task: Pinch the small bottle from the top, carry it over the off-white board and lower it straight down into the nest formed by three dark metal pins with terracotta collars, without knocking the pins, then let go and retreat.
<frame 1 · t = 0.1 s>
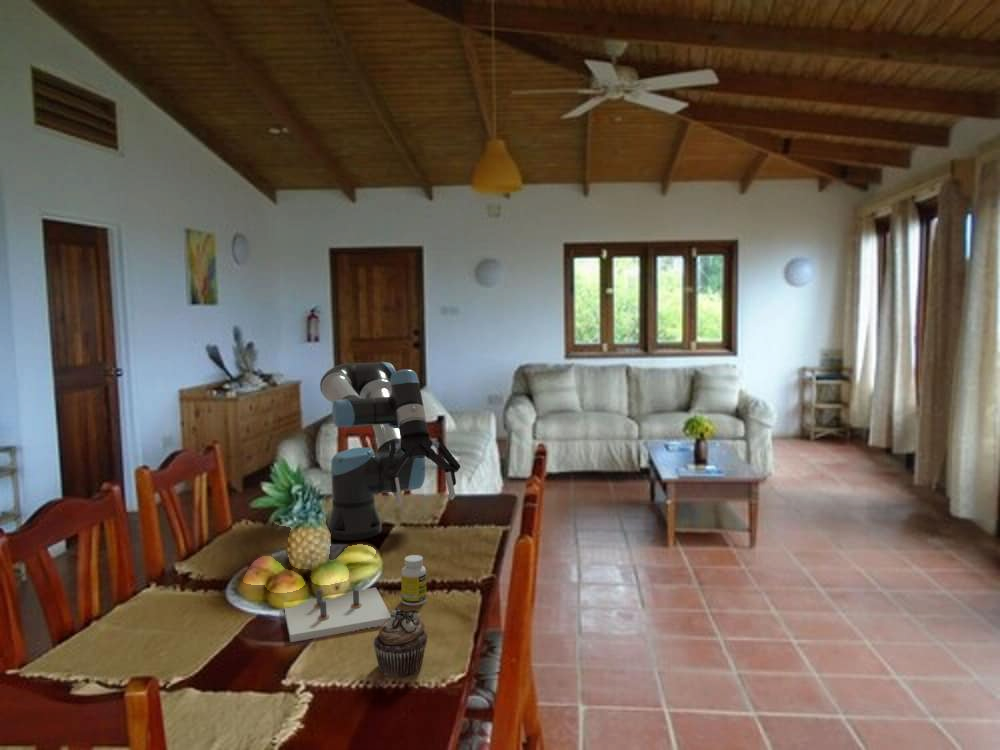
hand: (426, 501, 179), 15 cm above the table, tool tilted 35°, fingers open, 13 cm apart
cupcake: (400, 667, 130), on the table
pin nest: (336, 616, 150), on the table
supplement bottle: (414, 602, 157), on the table
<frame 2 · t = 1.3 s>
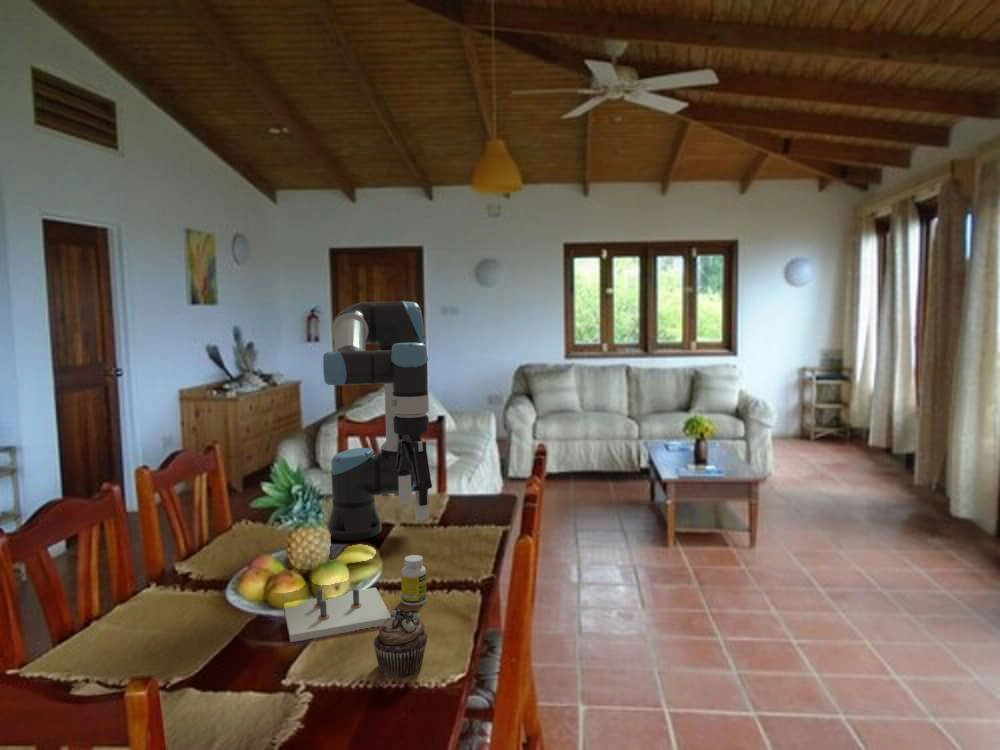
hand: (413, 511, 156), 20 cm above the table, tool pointing down, fingers open, 13 cm apart
nothing on the table moved.
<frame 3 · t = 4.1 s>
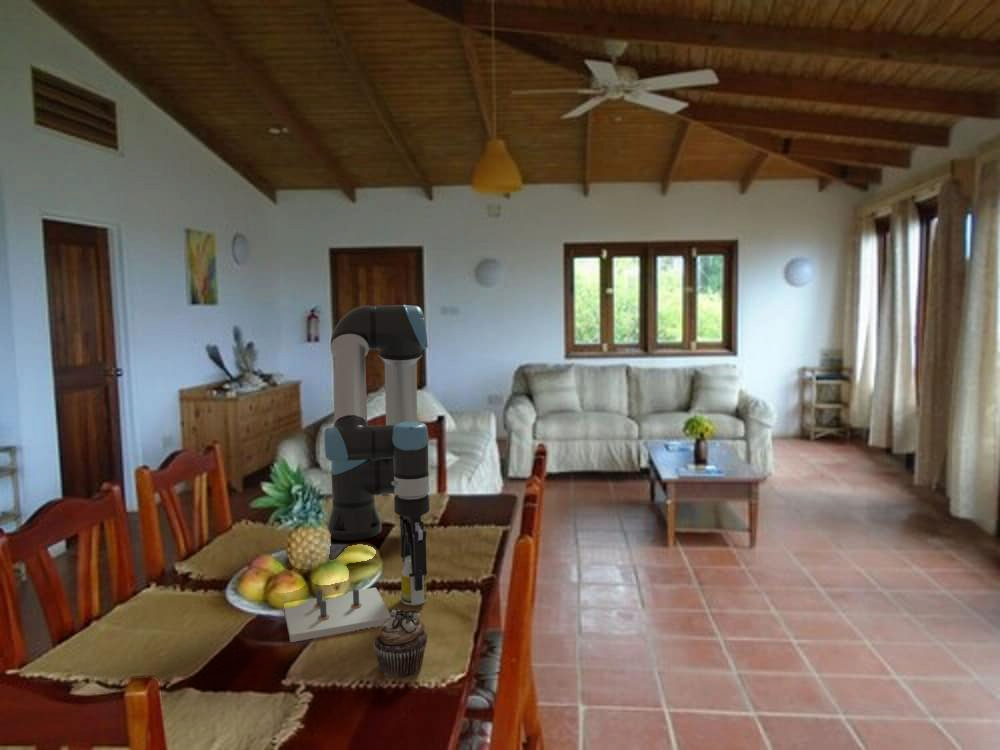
hand: (414, 597, 157), 1 cm above the table, tool pointing down, fingers closed on supplement bottle, 5 cm apart
supplement bottle: (414, 601, 157), on the table, touching gripper
everything else where it was.
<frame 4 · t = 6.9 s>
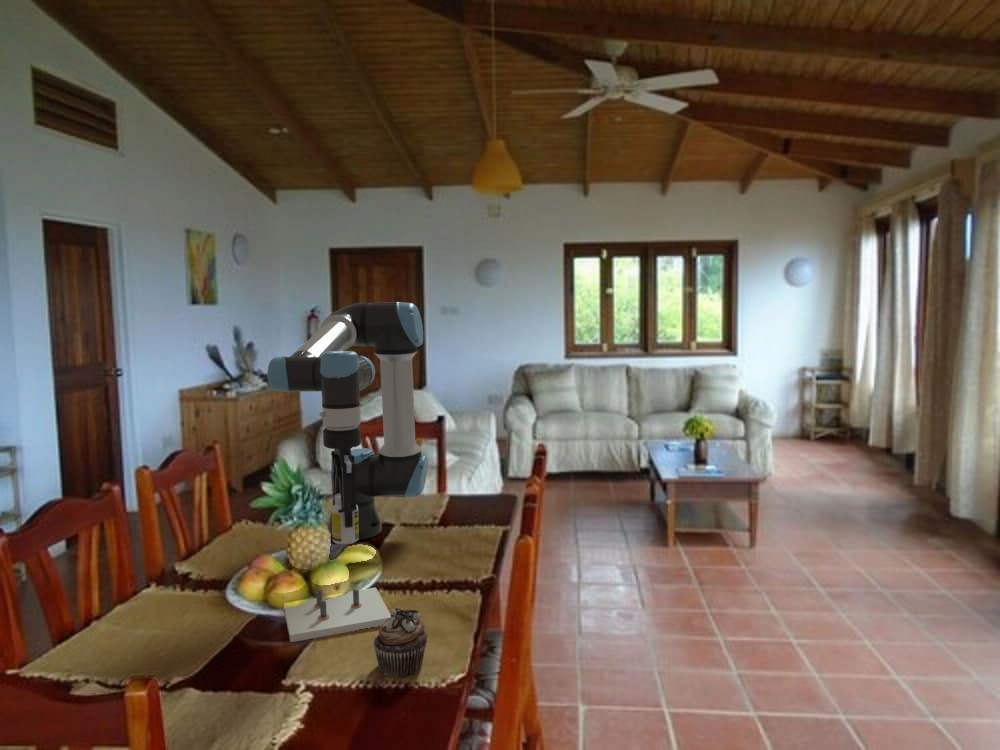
hand: (345, 536, 149), 17 cm above the table, tool pointing down, fingers closed on supplement bottle, 5 cm apart
supplement bottle: (345, 541, 149), point 16 cm above the table, touching gripper
everything else where it was.
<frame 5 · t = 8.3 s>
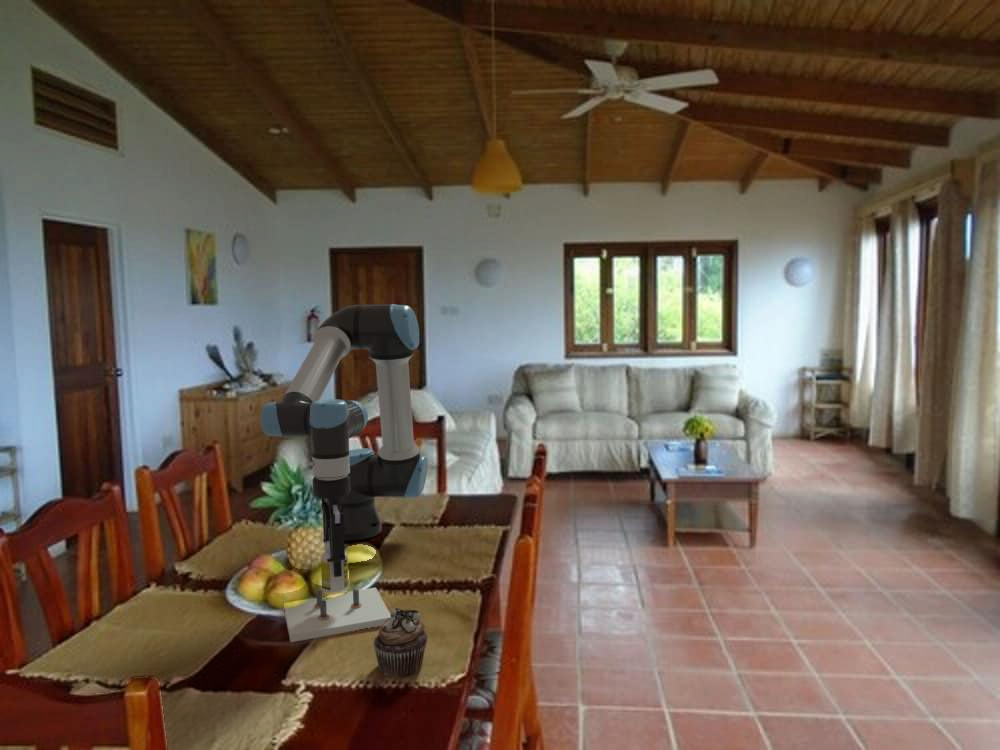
hand: (335, 584, 149), 7 cm above the table, tool pointing down, fingers closed on supplement bottle, 5 cm apart
supplement bottle: (335, 589, 149), point 6 cm above the table, touching gripper
everything else where it was.
when the fingers open (4 cm above the table, at t = 9.6 s): supplement bottle drops 2 cm, resting on pin nest.
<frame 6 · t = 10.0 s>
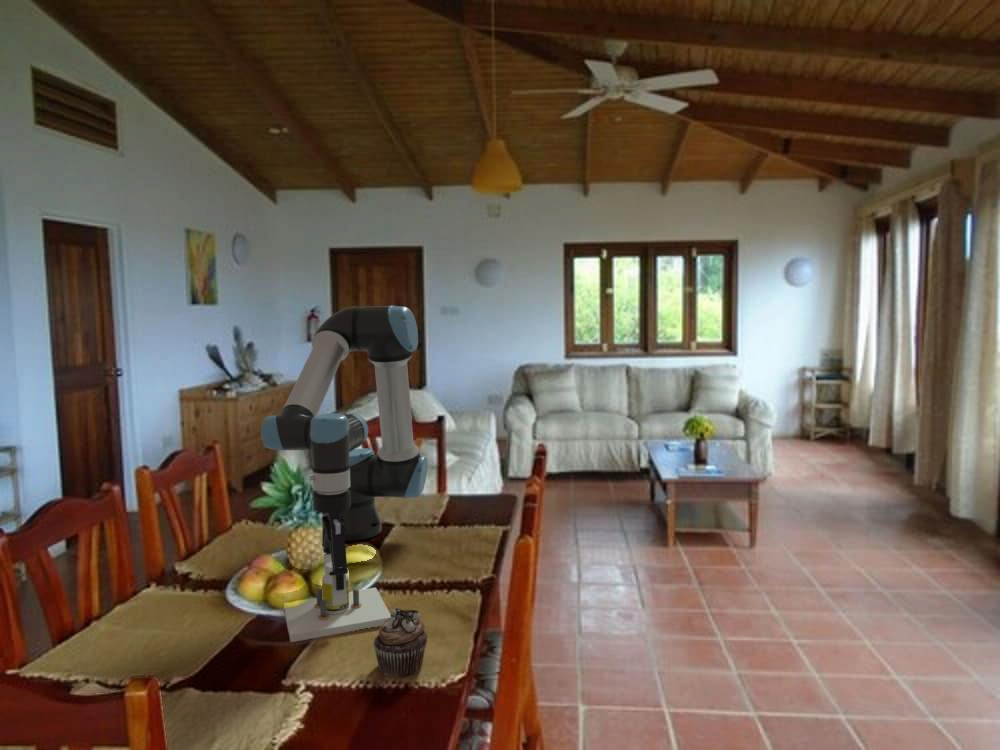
hand: (335, 593, 150), 5 cm above the table, tool pointing down, fingers open, 10 cm apart
supplement bottle: (336, 610, 150), point 1 cm above the table, touching pin nest
everything else where it was.
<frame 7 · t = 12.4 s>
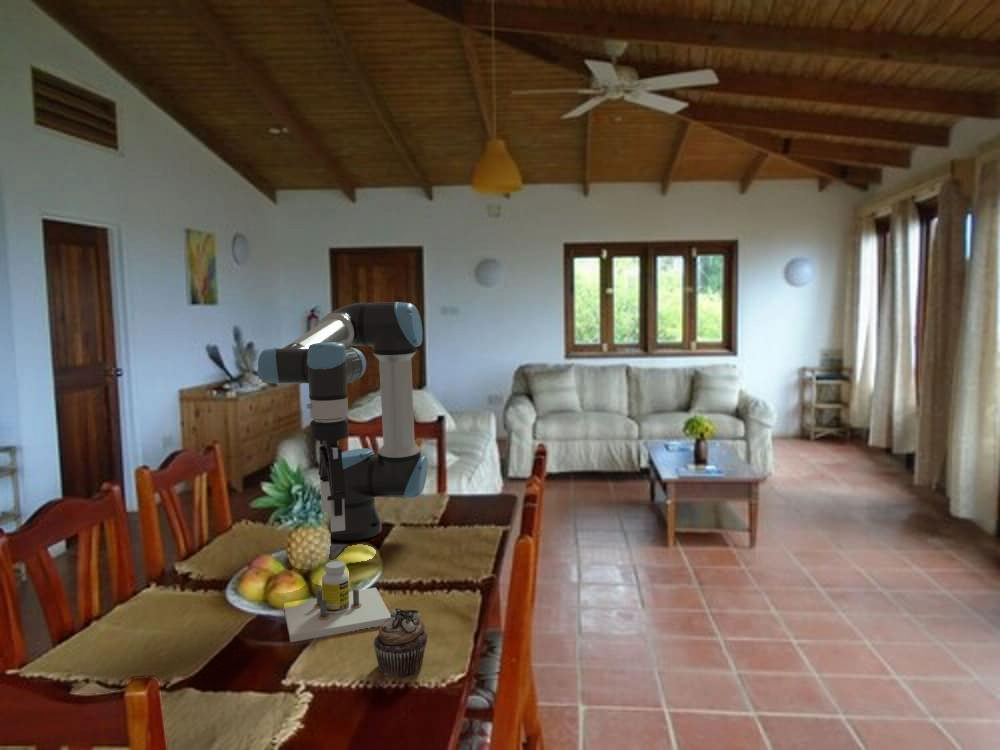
hand: (333, 520, 148), 21 cm above the table, tool pointing down, fingers open, 13 cm apart
nothing on the table moved.
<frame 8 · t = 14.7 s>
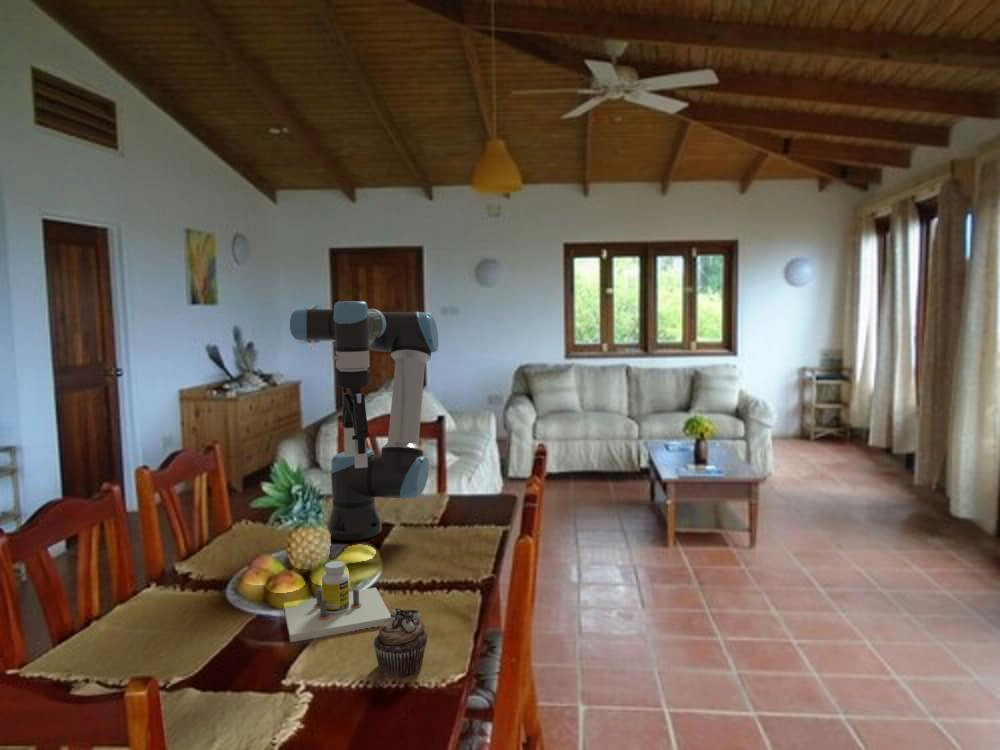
hand: (355, 461, 165), 29 cm above the table, tool pointing down, fingers open, 13 cm apart
nothing on the table moved.
at the end: supplement bottle 0.1 cm off-centre on the pin nest, point 1.3 cm above the pin nest's base; supplement bottle tilted 0°; the gripper is holding nothing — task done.
